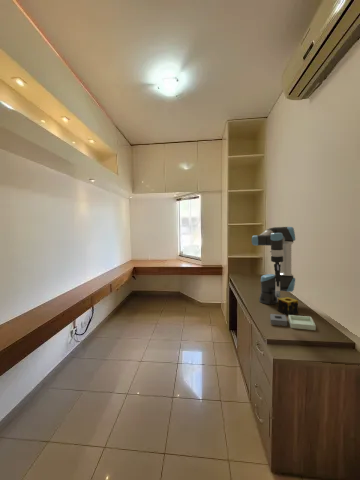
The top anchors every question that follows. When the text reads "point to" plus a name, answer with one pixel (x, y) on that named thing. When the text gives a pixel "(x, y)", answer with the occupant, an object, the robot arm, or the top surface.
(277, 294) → the pin
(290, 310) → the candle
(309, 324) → the tray
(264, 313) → the top surface
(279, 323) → the socket block
